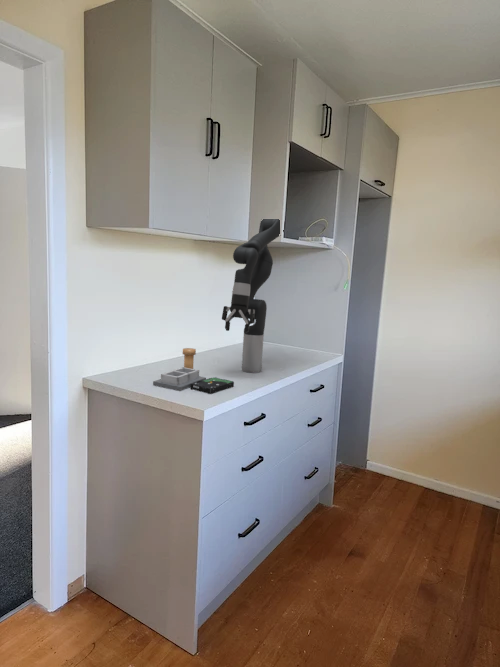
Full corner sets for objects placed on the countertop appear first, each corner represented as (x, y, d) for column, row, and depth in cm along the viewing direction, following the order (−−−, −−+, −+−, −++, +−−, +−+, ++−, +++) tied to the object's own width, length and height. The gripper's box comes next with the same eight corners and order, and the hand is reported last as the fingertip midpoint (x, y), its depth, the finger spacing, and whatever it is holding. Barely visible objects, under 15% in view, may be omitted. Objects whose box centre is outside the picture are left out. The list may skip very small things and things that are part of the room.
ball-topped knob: (186, 371, 197) (187, 347, 195) (197, 373, 194) (198, 349, 193) (179, 374, 192) (180, 349, 190) (190, 376, 189) (191, 351, 188)
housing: (179, 376, 189) (180, 365, 188) (205, 381, 183) (206, 370, 183) (153, 385, 173) (153, 373, 172) (180, 391, 167) (181, 379, 167)
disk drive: (210, 396, 166) (234, 387, 178) (211, 388, 165) (234, 381, 177) (189, 390, 171) (213, 382, 184) (190, 383, 171) (214, 376, 183)
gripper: (259, 296, 191) (254, 334, 191) (229, 293, 195) (224, 329, 196) (253, 295, 183) (248, 333, 184) (222, 291, 188) (217, 329, 189)
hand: (236, 331), depth 190 cm, fingers open, 8 cm apart
